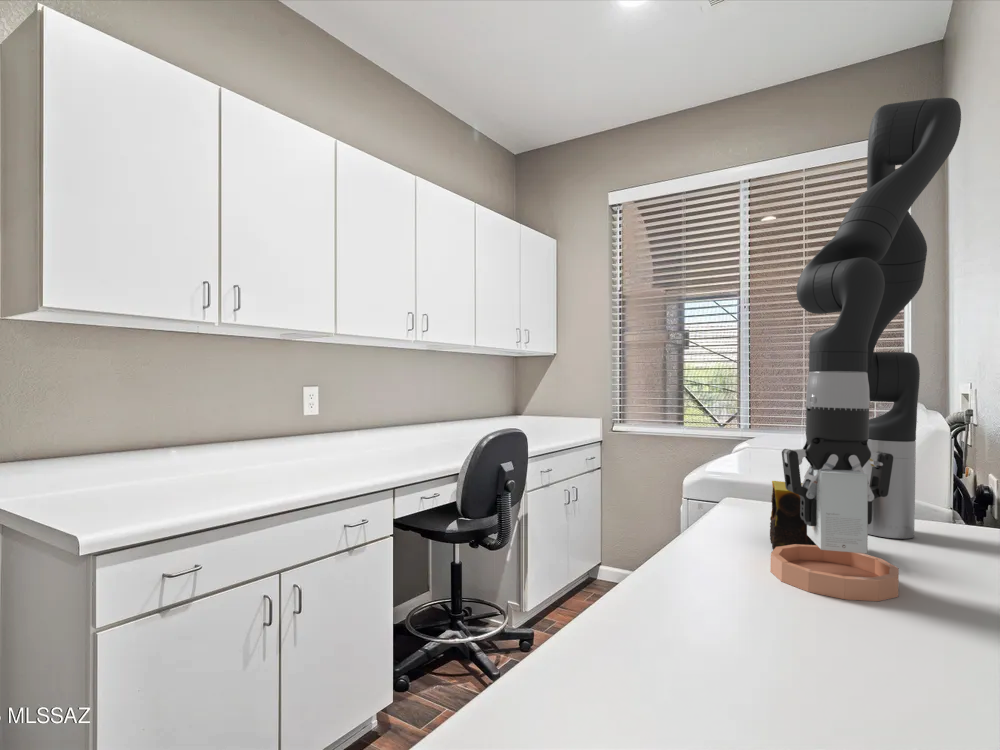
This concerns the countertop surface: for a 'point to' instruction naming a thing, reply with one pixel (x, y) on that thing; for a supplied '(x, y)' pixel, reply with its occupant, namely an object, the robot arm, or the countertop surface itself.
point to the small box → (841, 511)
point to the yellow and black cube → (786, 518)
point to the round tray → (835, 572)
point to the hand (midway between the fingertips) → (835, 525)
